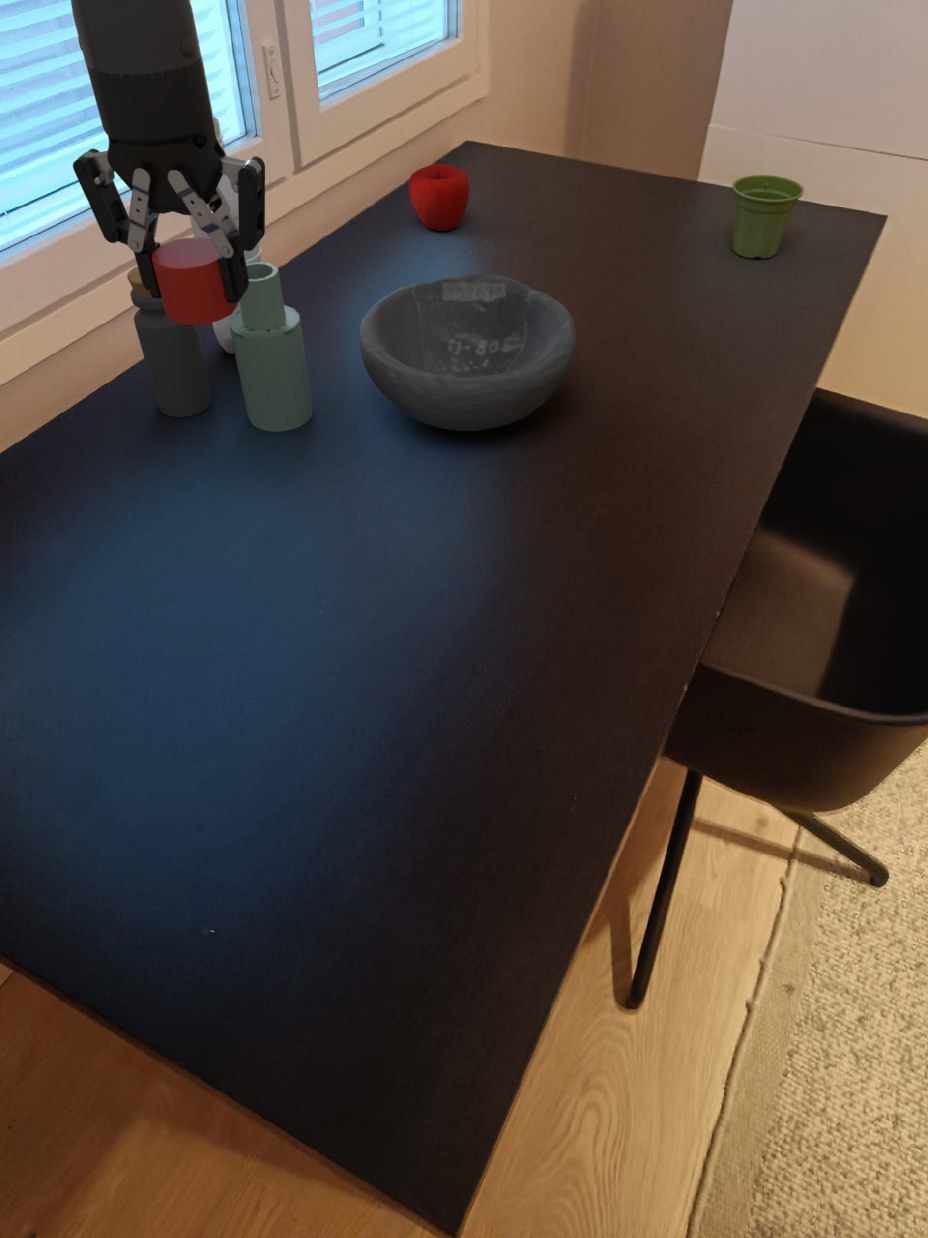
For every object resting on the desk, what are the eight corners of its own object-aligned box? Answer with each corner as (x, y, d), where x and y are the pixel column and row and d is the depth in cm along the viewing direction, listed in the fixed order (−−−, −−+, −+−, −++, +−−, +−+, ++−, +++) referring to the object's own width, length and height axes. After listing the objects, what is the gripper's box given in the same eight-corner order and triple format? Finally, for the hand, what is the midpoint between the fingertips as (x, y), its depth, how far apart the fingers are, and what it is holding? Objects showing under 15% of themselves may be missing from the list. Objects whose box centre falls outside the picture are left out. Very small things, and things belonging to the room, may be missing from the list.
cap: (151, 310, 72) (136, 254, 68) (206, 285, 75) (194, 231, 72) (196, 331, 69) (182, 275, 66) (251, 305, 72) (240, 249, 69)
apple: (406, 216, 136) (403, 161, 130) (463, 212, 137) (463, 157, 131) (415, 240, 130) (412, 184, 124) (474, 235, 131) (474, 179, 125)
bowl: (322, 403, 99) (310, 319, 92) (464, 332, 111) (464, 252, 103) (469, 492, 88) (469, 403, 81) (612, 403, 99) (623, 318, 92)
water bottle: (207, 355, 107) (153, 127, 89) (236, 328, 112) (191, 106, 94) (261, 365, 105) (217, 134, 88) (288, 336, 110) (252, 112, 92)
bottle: (186, 423, 97) (151, 290, 86) (147, 408, 99) (108, 276, 88) (223, 398, 100) (193, 267, 90) (185, 384, 103) (151, 254, 92)
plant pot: (706, 250, 127) (718, 186, 121) (745, 231, 131) (759, 168, 125) (762, 271, 122) (777, 205, 116) (801, 251, 126) (818, 187, 120)
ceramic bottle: (235, 417, 98) (204, 274, 86) (281, 390, 102) (257, 249, 90) (280, 439, 95) (253, 294, 83) (326, 410, 99) (307, 268, 87)
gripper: (264, 41, 61) (299, 281, 73) (67, 34, 63) (132, 270, 75) (227, 72, 56) (271, 325, 68) (13, 64, 57) (93, 312, 70)
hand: (198, 295), depth 71 cm, fingers closed on cap, 5 cm apart
